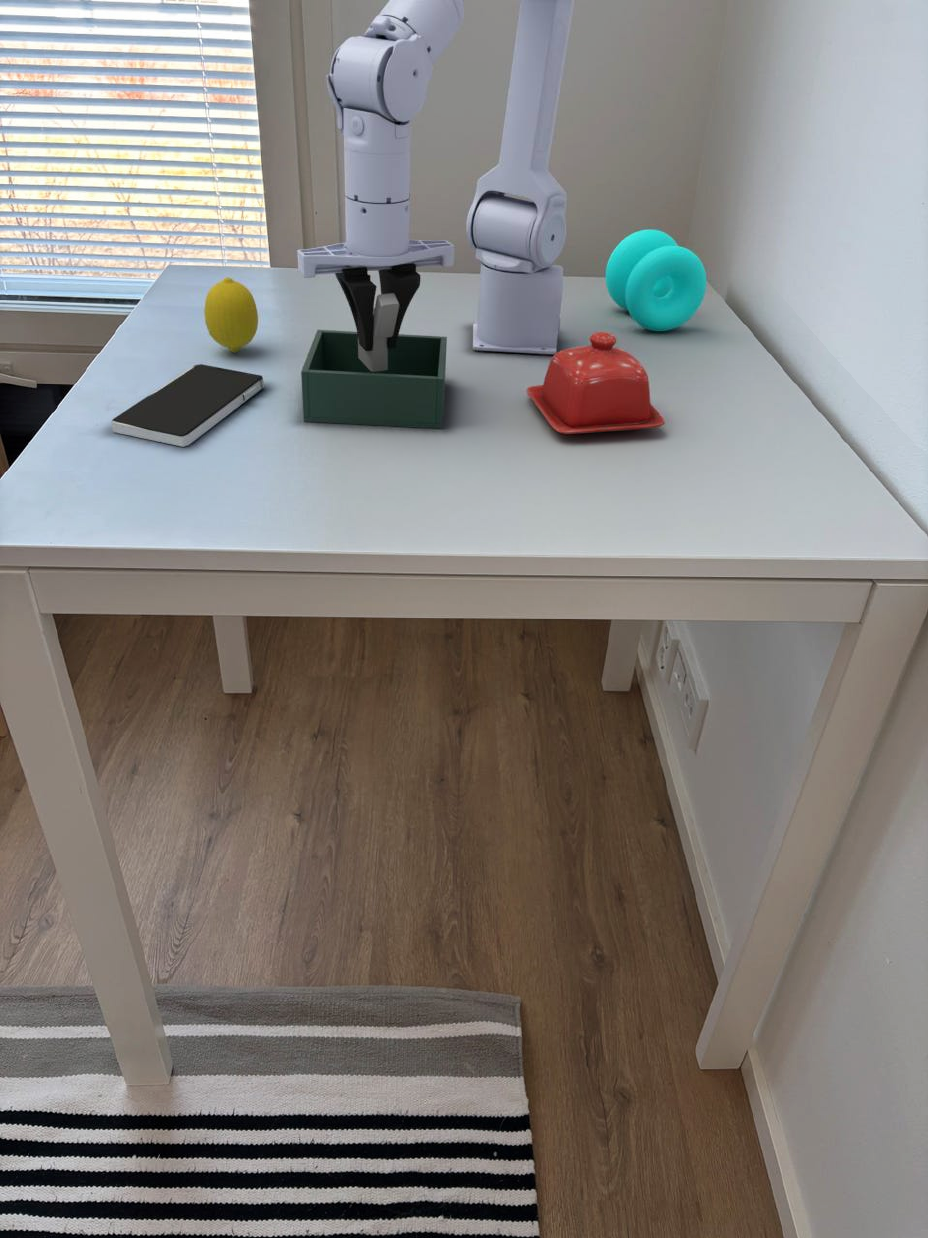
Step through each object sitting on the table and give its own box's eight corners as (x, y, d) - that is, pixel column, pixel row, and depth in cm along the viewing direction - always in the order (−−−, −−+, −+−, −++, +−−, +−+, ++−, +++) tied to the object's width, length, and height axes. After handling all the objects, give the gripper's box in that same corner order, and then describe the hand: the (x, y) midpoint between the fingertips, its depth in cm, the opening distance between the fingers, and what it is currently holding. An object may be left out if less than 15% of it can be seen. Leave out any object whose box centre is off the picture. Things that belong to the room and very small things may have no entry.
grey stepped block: (357, 356, 96) (356, 275, 91) (374, 355, 97) (373, 274, 92) (382, 383, 91) (381, 298, 86) (399, 381, 92) (399, 296, 87)
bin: (444, 383, 101) (446, 336, 98) (441, 428, 92) (443, 379, 89) (319, 376, 100) (317, 329, 97) (303, 421, 91) (301, 371, 88)
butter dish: (520, 396, 99) (528, 314, 94) (624, 391, 101) (637, 311, 96) (555, 446, 90) (565, 358, 85) (668, 438, 92) (685, 353, 87)
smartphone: (107, 420, 87) (196, 362, 98) (109, 433, 88) (197, 373, 99) (185, 437, 85) (266, 375, 96) (187, 449, 86) (267, 387, 97)
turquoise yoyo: (624, 335, 115) (638, 250, 109) (597, 308, 123) (608, 226, 117) (701, 333, 117) (718, 249, 111) (669, 306, 125) (683, 226, 119)
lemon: (249, 364, 102) (242, 288, 97) (200, 357, 103) (191, 282, 98) (268, 346, 106) (263, 273, 102) (220, 340, 107) (213, 267, 102)
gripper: (435, 182, 90) (431, 325, 98) (284, 188, 85) (293, 338, 93) (466, 200, 85) (458, 349, 93) (307, 208, 80) (314, 365, 88)
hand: (377, 346), depth 93 cm, fingers closed on grey stepped block, 2 cm apart
